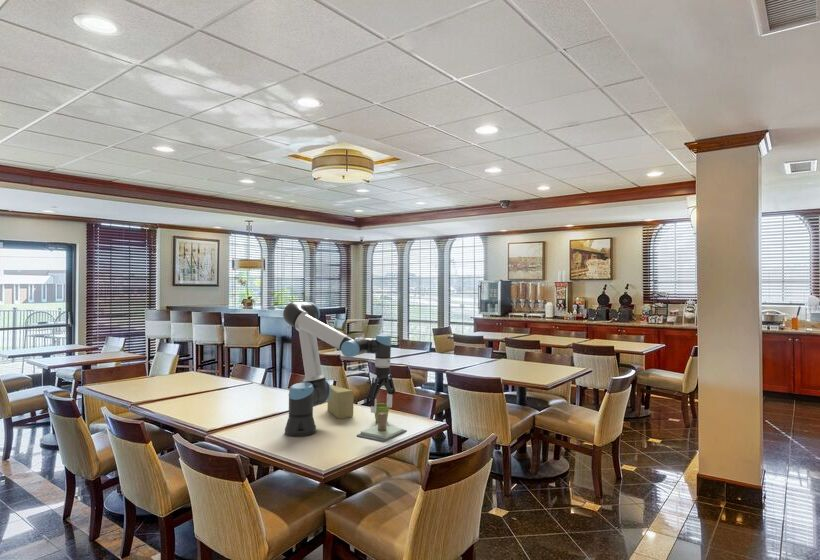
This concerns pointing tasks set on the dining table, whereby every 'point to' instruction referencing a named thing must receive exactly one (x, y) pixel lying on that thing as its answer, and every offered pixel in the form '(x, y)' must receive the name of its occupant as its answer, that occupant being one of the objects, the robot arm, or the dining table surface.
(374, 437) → the mat
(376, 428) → the lid
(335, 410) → the cheese
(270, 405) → the dining table surface
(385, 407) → the plant pot
